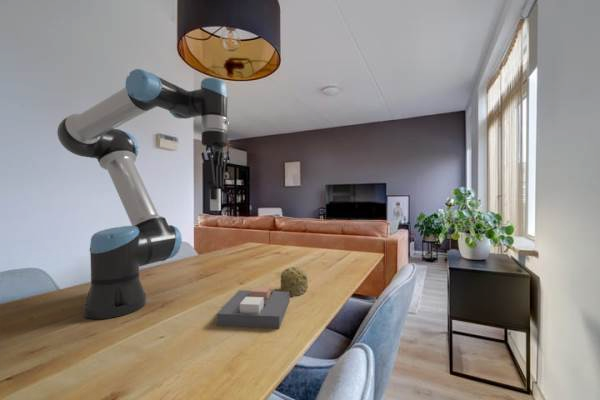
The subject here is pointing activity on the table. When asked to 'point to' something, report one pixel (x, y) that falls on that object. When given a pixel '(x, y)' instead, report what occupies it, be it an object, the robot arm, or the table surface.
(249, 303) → the key soft
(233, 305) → the key panel
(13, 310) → the table surface
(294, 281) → the rock
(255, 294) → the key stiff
